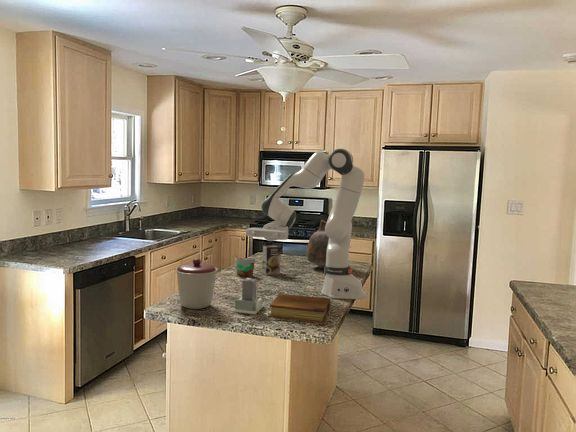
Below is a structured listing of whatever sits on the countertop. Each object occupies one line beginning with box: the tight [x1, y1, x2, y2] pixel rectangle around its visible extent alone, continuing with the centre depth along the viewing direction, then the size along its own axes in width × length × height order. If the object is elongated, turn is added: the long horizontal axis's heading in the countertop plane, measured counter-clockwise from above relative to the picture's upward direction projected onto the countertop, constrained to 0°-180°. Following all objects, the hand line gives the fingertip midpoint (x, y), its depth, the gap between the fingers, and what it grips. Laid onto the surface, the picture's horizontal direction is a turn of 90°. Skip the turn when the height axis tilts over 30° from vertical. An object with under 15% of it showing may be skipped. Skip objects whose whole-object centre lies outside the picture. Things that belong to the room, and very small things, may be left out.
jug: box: [306, 219, 329, 270], centre depth 290 cm, size 24×21×30 cm
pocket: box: [232, 296, 264, 315], centre depth 204 cm, size 10×11×5 cm
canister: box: [175, 258, 219, 310], centre depth 205 cm, size 18×18×21 cm
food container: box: [234, 256, 256, 278], centre depth 264 cm, size 12×6×10 cm, turn 68°
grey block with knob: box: [241, 277, 257, 301], centre depth 204 cm, size 5×5×13 cm
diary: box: [268, 293, 331, 324], centre depth 202 cm, size 23×19×6 cm
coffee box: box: [261, 244, 282, 276], centre depth 272 cm, size 9×6×16 cm
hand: (262, 235), depth 218 cm, fingers open, 8 cm apart
